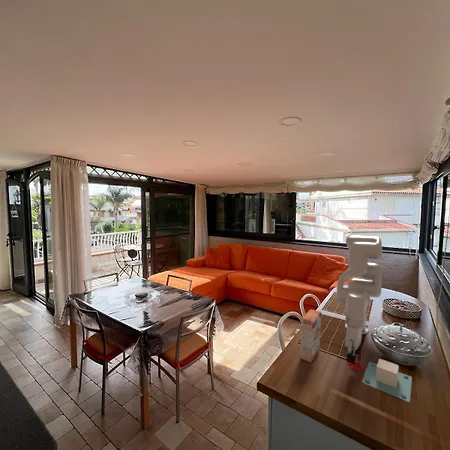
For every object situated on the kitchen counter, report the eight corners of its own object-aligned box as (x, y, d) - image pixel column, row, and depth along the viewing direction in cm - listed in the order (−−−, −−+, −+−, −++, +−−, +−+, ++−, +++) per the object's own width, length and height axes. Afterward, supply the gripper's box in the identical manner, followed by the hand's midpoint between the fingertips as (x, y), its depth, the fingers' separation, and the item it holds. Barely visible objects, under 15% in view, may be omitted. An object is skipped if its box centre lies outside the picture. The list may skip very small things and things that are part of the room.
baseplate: (369, 363, 112) (369, 360, 112) (411, 379, 102) (412, 375, 102) (361, 384, 98) (361, 380, 98) (409, 405, 88) (409, 400, 88)
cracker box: (312, 363, 112) (313, 321, 111) (299, 359, 116) (300, 317, 114) (320, 350, 123) (321, 311, 122) (309, 346, 127) (310, 308, 125)
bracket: (358, 366, 110) (358, 360, 110) (363, 373, 106) (363, 367, 105) (344, 365, 111) (344, 359, 111) (348, 372, 106) (348, 366, 106)
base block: (378, 371, 105) (379, 358, 105) (398, 378, 100) (398, 365, 100) (376, 380, 100) (376, 366, 99) (396, 388, 95) (397, 373, 95)
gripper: (350, 313, 116) (349, 347, 117) (340, 325, 103) (339, 363, 103) (367, 317, 111) (366, 352, 112) (360, 330, 98) (358, 370, 99)
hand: (353, 357), depth 108 cm, fingers open, 9 cm apart
